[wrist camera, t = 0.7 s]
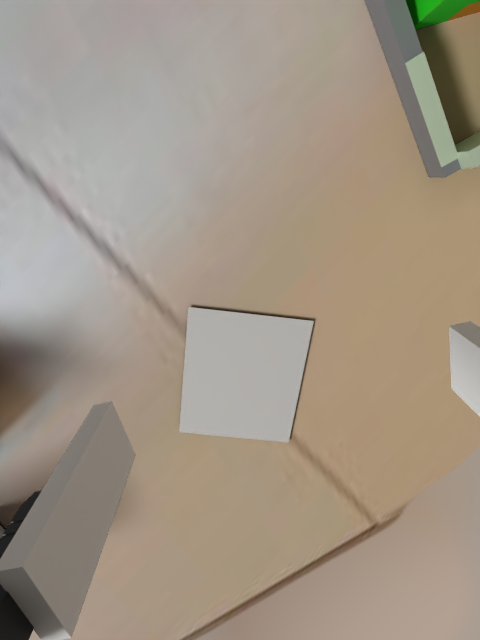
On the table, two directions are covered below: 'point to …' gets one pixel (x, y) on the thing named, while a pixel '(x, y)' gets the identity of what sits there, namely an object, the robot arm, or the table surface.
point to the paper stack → (242, 374)
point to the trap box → (419, 91)
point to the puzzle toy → (439, 10)
